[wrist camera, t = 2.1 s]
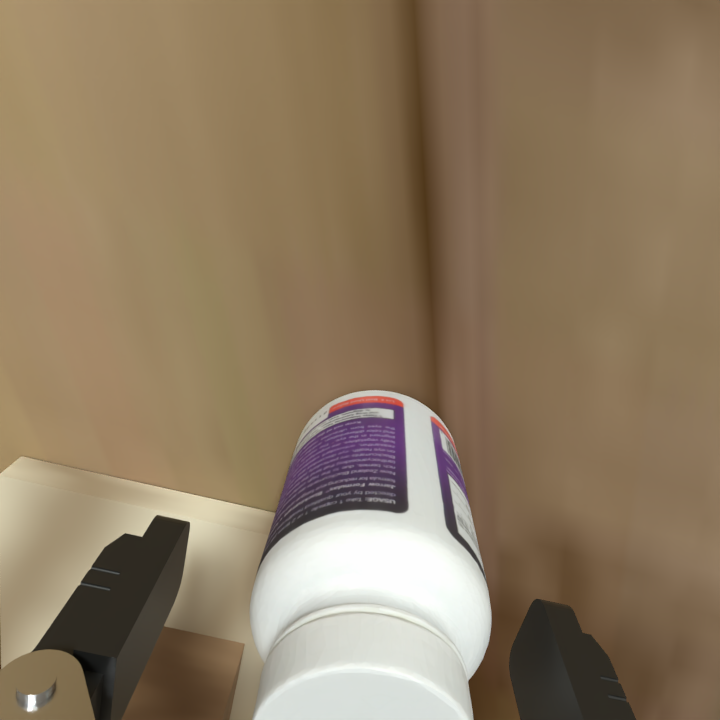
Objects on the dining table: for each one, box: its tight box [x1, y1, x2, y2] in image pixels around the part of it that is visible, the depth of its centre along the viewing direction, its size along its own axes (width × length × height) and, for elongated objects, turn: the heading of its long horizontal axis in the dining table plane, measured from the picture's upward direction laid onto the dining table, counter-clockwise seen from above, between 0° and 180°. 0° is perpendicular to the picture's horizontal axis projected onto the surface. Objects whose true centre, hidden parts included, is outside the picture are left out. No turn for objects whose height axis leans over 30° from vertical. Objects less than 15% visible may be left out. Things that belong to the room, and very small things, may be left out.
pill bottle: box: [249, 390, 491, 720], centre depth 14 cm, size 5×5×10 cm
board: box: [0, 456, 276, 720], centre depth 22 cm, size 16×14×1 cm
